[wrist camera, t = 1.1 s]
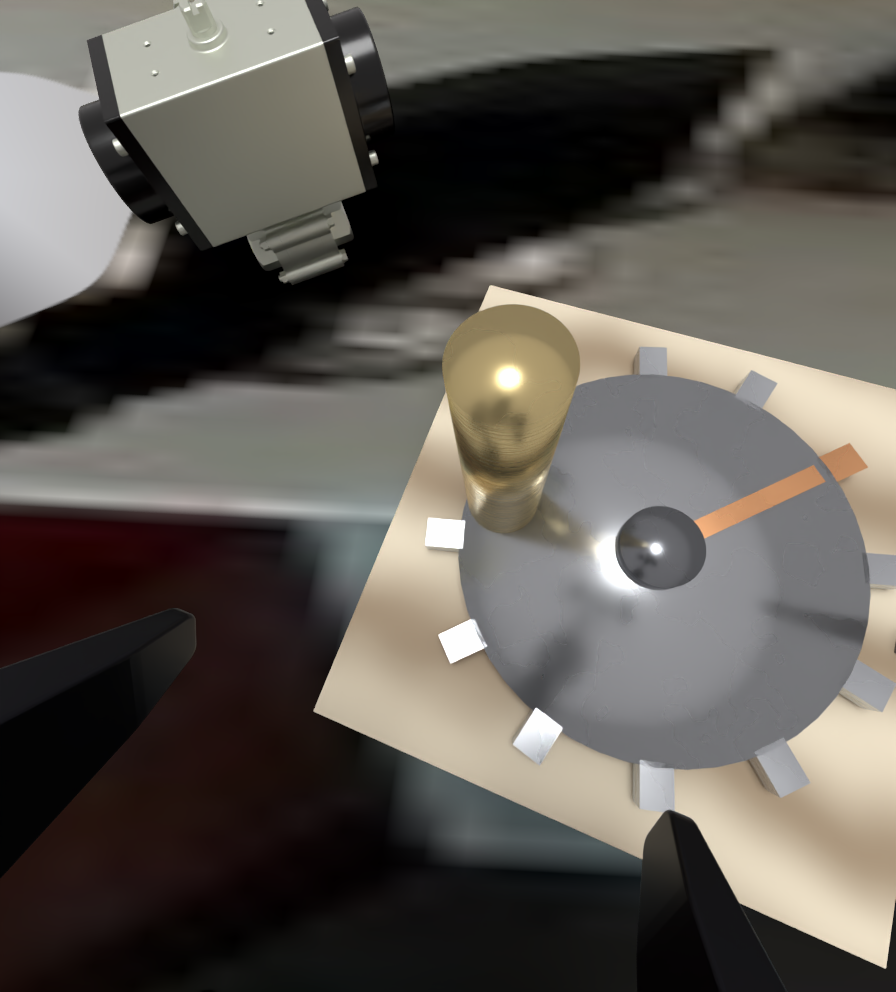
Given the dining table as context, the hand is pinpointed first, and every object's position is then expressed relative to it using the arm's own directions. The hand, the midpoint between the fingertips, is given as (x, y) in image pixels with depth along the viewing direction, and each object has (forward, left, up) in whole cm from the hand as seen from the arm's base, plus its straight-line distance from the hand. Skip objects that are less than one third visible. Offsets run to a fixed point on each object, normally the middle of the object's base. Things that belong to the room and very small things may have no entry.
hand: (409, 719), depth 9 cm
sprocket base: (+7, -6, -13) cm, 16 cm away
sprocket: (+7, -6, -12) cm, 15 cm away
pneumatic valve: (+18, +16, -14) cm, 28 cm away
